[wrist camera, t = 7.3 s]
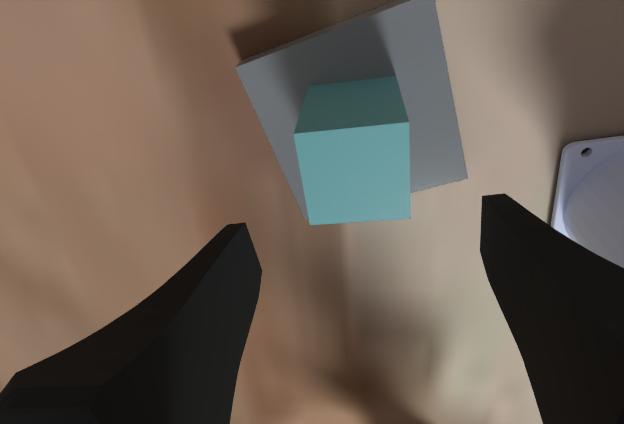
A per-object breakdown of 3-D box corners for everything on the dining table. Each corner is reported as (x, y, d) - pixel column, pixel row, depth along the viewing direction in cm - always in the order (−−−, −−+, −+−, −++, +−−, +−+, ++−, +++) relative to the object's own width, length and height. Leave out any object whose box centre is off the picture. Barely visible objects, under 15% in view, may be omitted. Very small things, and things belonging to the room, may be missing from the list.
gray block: (425, -14, 18) (433, -9, 16) (459, 160, 22) (468, 178, 21) (244, 56, 20) (235, 67, 19) (308, 201, 25) (305, 220, 23)
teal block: (395, 75, 18) (408, 122, 14) (398, 155, 20) (410, 218, 16) (308, 86, 19) (293, 133, 14) (319, 162, 21) (310, 225, 17)
